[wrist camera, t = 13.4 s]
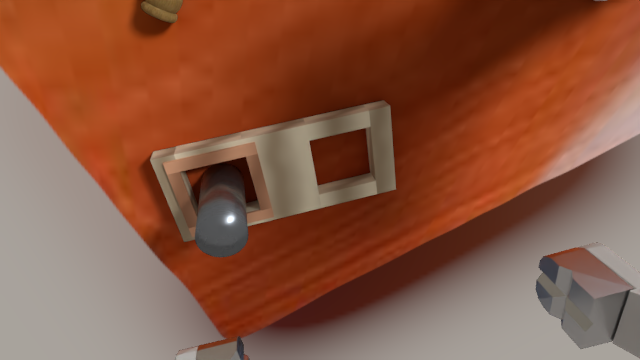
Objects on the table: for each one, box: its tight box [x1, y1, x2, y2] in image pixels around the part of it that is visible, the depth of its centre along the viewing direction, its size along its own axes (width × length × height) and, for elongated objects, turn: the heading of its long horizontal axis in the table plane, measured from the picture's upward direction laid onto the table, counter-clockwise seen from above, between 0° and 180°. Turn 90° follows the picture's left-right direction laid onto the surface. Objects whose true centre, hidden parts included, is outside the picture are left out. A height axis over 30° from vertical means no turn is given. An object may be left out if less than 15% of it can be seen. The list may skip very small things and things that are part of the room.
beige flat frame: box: [150, 100, 396, 242], centre depth 42 cm, size 24×10×2 cm, turn 100°
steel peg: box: [195, 163, 248, 257], centre depth 38 cm, size 4×4×10 cm
